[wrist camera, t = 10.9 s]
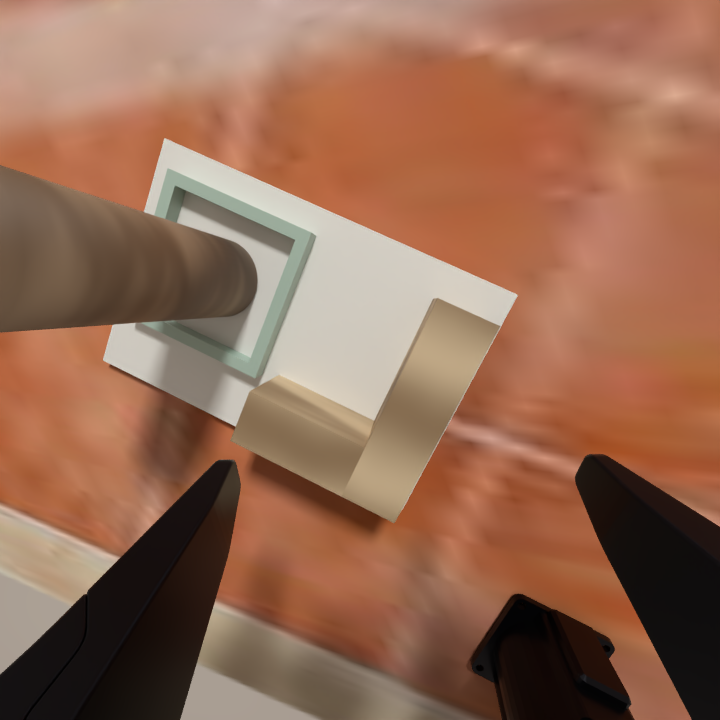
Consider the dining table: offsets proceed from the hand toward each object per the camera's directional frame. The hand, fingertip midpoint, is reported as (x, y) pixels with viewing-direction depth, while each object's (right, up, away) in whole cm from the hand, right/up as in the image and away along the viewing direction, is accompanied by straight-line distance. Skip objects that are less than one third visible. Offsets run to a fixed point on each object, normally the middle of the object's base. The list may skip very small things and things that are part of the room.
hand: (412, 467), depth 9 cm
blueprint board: (-6, +5, +13) cm, 15 cm away
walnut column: (-10, +8, +12) cm, 17 cm away
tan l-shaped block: (-1, +2, +12) cm, 13 cm away
